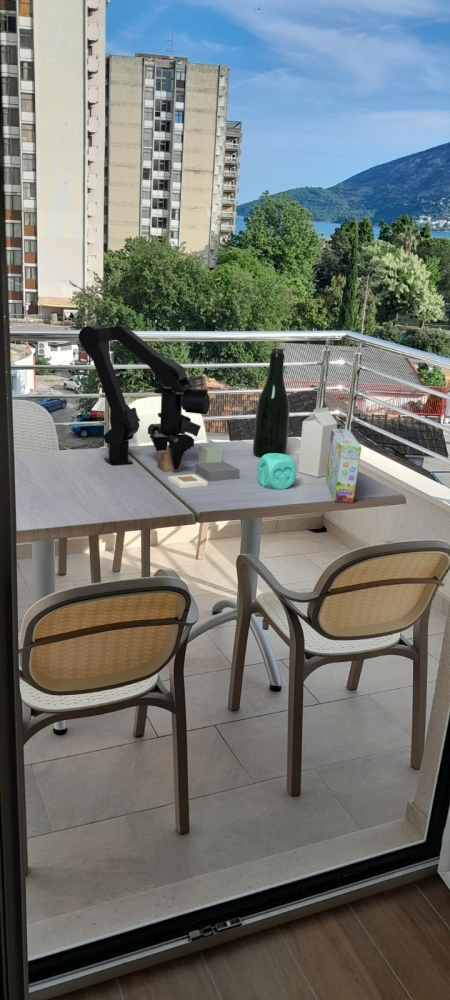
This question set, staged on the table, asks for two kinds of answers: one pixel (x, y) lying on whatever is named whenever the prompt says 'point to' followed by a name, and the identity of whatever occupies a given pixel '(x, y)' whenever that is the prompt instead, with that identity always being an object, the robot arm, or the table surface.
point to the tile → (187, 481)
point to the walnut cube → (166, 462)
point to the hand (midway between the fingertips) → (169, 465)
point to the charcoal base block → (217, 471)
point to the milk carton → (316, 442)
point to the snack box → (343, 465)
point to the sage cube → (210, 454)
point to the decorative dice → (276, 471)
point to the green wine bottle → (272, 410)
